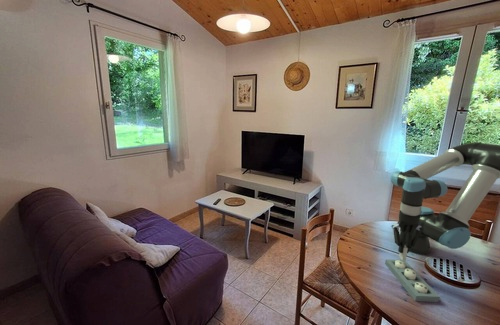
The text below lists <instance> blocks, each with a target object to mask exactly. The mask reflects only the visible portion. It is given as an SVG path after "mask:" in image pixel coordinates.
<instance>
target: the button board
mask: <svg viewBox="0 0 500 325" xmlns="http://www.w3.org/2000/svg"><path fill="white" fill-rule="evenodd" d="M396 260H397V259H387V258H386V259H385V262H384V265H385V266H386V267H387V268H388V270H390V272H391V274H393V276H394V277H395V278H396V279H397V281H398V282H399V283H400V284H401V285H402V287H403V288H404V290H406V291H407V293H408V294H409V295H410V296H411V298H412V299H413V300H414V301H415V302H430V303H431V302H433V303H439V302H440V298H441V296H440V295H439V294H438V293H437V292H436V291H435V290H434V289H433V288H432V287H431V286H430V285H429V283H427V282H426V281H425V280H424V278H422V277H421V276H420V274H419V273H418V272H417V271H416V270H415V269H414V268H413V267H412V266H411V265H410V264H409V263H408V262H407V261H406V260H402V259H399V260H400V261H403V262H404V263H405V264H406V267H405V269H407V268H408V269H412V270H414V271H415V272H416V273H417V274H416V279H415V280H407V279H406V278H405V276H404V272H405V269H398V268H397V267H396V266H395V261H396ZM416 282H420V283H423V284H425V285H426V286H427V287H428V291H427V293H418V291H417V290H416V289H415V288H414V287H415V283H416Z"/></svg>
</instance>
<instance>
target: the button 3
mask: <svg viewBox="0 0 500 325" xmlns="http://www.w3.org/2000/svg"><path fill="white" fill-rule="evenodd" d="M414 288H415V289H416V290H417V291H418V293H427V291H428V287H427V286H426V285H425V284H423V283H420V282H416V283H415V287H414Z"/></svg>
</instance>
